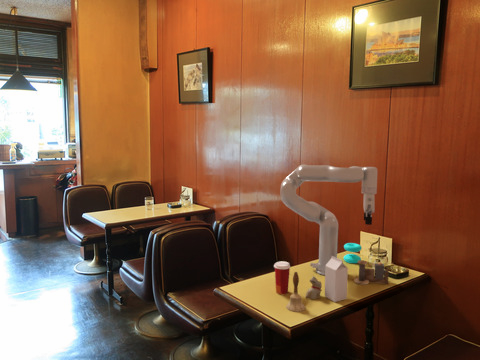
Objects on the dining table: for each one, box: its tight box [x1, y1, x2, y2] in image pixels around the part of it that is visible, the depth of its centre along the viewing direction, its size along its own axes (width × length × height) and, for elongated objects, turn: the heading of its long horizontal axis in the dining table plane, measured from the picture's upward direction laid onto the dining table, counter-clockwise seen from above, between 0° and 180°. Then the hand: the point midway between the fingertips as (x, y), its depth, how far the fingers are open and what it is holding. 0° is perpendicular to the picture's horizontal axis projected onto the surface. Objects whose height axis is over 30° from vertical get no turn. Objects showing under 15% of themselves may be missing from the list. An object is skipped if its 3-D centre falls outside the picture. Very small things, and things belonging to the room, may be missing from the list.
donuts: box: [343, 242, 362, 264], centre depth 227 cm, size 10×10×10 cm
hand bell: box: [285, 271, 306, 313], centre depth 168 cm, size 8×8×16 cm
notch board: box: [365, 267, 390, 285], centre depth 198 cm, size 14×5×6 cm, turn 77°
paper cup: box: [273, 260, 291, 295], centre depth 184 cm, size 8×8×14 cm
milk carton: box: [324, 256, 349, 303], centre depth 177 cm, size 7×7×19 cm
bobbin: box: [353, 259, 370, 286], centre depth 196 cm, size 7×7×11 cm
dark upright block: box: [374, 261, 385, 279], centre depth 197 cm, size 4×4×8 cm
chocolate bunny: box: [305, 275, 323, 300], centre depth 179 cm, size 6×8×10 cm
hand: (367, 222), depth 205 cm, fingers open, 9 cm apart
